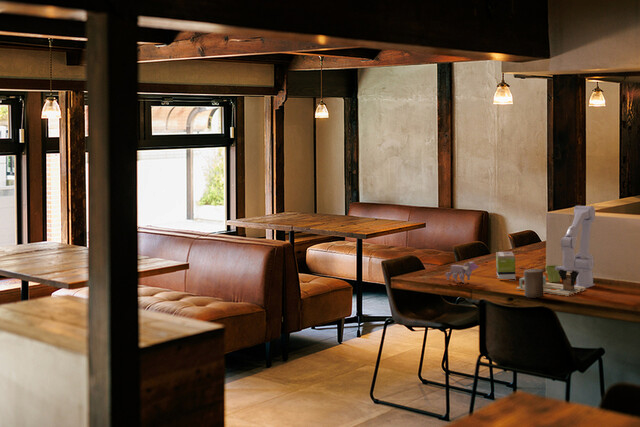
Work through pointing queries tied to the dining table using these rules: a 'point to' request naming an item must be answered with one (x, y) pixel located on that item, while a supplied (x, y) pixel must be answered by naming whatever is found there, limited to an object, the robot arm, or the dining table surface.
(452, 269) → the toy sheep
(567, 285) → the walnut block
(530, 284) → the pillar candle
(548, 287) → the puzzle board
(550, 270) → the plant pot
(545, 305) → the dining table surface
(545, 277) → the sled cover
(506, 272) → the tea box
